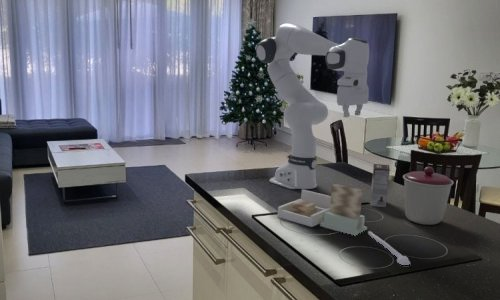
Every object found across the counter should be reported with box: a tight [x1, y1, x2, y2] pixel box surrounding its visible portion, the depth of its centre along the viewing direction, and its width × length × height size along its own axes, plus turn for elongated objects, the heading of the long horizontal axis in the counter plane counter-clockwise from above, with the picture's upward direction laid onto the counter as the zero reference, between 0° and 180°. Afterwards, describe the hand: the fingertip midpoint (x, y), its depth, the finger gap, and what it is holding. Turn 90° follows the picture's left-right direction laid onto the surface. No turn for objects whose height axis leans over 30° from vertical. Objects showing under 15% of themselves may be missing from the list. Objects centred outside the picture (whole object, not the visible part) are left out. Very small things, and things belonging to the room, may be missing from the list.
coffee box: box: [370, 163, 391, 208], centre depth 212 cm, size 9×6×16 cm
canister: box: [402, 166, 455, 226], centre depth 192 cm, size 18×18×21 cm
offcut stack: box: [292, 199, 315, 217], centre depth 190 cm, size 7×6×6 cm
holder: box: [319, 212, 368, 237], centre depth 182 cm, size 14×9×5 cm, turn 52°
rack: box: [277, 189, 331, 228], centre depth 191 cm, size 15×15×8 cm
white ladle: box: [367, 230, 411, 266], centre depth 165 cm, size 28×4×3 cm, turn 12°
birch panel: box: [330, 183, 363, 229], centre depth 181 cm, size 11×2×14 cm, turn 52°
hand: (351, 116), depth 200 cm, fingers open, 8 cm apart
